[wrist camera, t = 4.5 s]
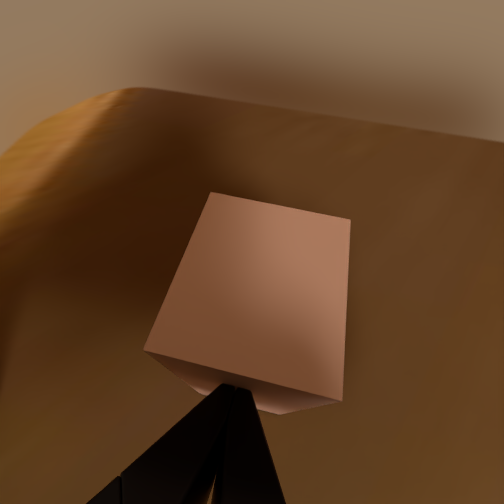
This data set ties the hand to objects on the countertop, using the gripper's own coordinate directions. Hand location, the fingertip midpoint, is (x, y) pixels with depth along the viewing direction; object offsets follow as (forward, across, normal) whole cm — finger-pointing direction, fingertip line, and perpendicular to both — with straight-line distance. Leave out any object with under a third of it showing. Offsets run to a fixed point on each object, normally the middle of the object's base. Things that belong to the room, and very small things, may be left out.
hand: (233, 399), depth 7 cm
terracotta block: (+7, 0, +3) cm, 7 cm away
